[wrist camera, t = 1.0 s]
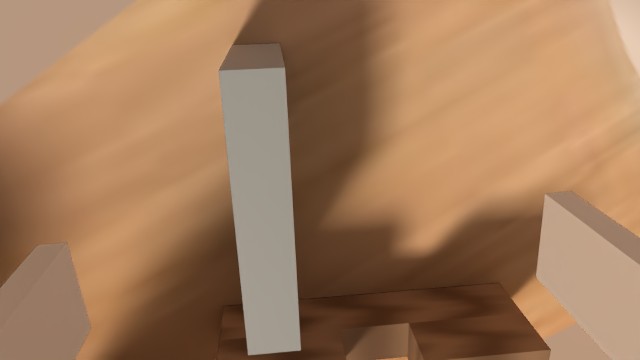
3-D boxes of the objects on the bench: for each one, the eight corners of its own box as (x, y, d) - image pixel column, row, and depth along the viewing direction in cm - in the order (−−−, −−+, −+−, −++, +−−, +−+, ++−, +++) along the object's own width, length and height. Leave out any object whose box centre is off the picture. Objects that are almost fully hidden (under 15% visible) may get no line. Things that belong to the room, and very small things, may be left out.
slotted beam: (227, 337, 40) (218, 418, 33) (223, 306, 39) (213, 382, 32) (495, 313, 42) (544, 385, 34) (498, 282, 41) (550, 349, 33)
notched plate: (252, 264, 38) (248, 355, 29) (232, 44, 32) (218, 70, 23) (292, 261, 38) (300, 350, 29) (279, 43, 32) (285, 67, 23)
